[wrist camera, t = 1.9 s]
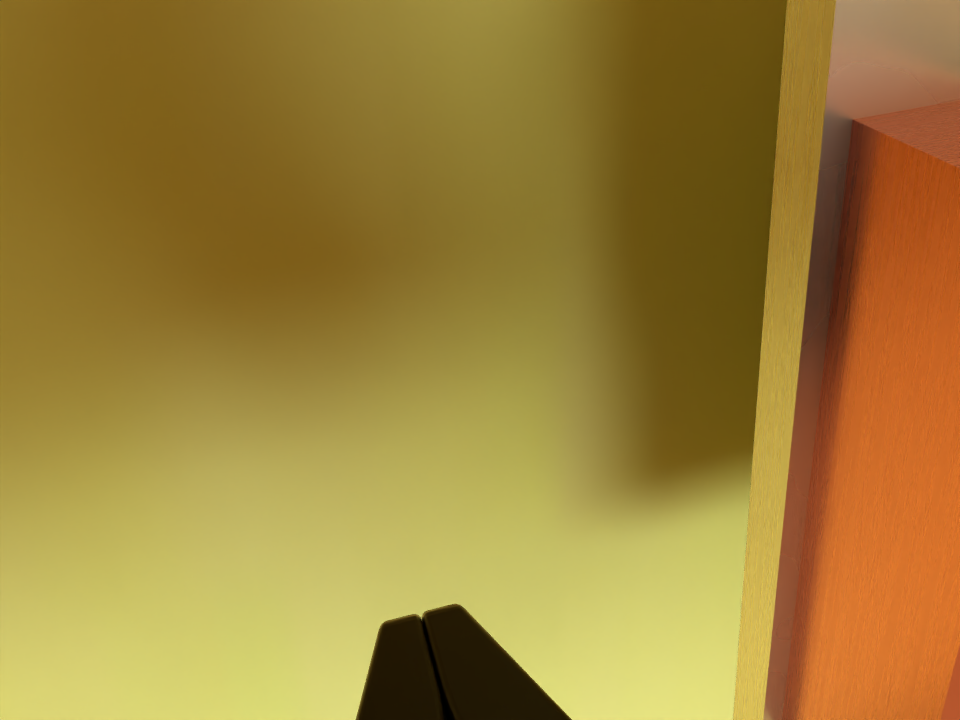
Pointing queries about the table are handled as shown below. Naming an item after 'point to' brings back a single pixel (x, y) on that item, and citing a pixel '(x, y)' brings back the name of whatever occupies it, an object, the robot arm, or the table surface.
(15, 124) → the table surface
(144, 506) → the table surface
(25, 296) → the table surface
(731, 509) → the table surface
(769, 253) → the lid
